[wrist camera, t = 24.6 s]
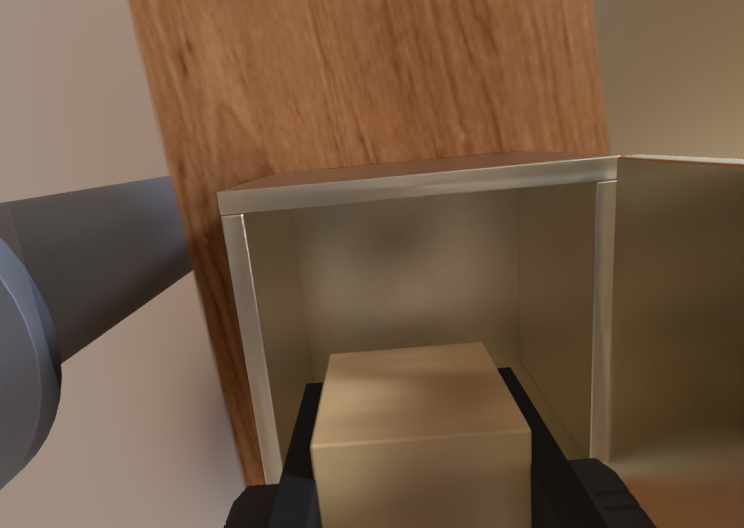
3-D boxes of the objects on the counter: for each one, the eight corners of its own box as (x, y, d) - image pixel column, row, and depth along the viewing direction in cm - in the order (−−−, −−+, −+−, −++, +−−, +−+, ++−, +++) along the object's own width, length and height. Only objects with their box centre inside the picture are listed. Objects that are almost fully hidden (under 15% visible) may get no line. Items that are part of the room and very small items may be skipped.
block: (344, 485, 15) (332, 623, 11) (328, 353, 14) (308, 446, 10) (487, 474, 15) (534, 609, 11) (482, 340, 14) (532, 429, 10)
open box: (302, 386, 29) (268, 506, 19) (273, 173, 26) (215, 192, 16) (530, 367, 28) (609, 480, 19) (527, 150, 25) (621, 155, 16)
